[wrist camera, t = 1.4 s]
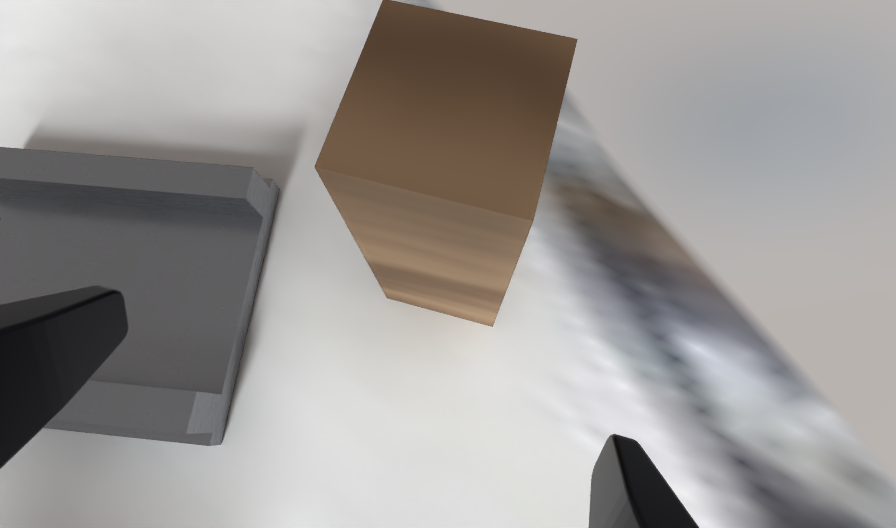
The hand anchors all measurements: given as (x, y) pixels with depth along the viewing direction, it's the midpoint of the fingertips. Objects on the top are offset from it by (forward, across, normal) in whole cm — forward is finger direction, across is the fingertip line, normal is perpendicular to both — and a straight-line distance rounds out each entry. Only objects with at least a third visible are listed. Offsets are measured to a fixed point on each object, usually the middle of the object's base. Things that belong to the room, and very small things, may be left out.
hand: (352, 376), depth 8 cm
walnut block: (+14, 0, +4) cm, 14 cm away
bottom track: (+10, +15, +8) cm, 20 cm away
